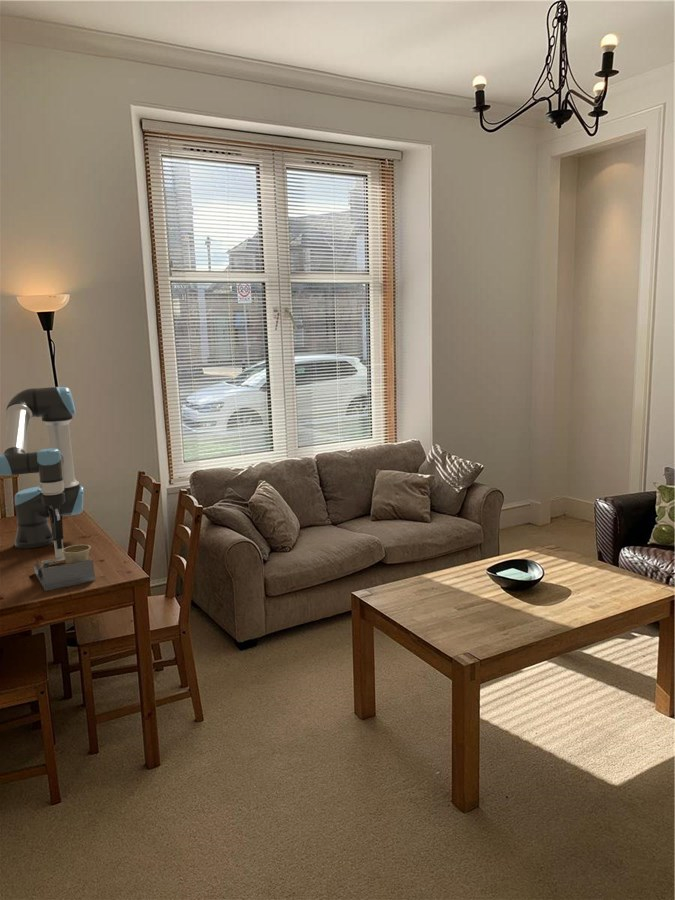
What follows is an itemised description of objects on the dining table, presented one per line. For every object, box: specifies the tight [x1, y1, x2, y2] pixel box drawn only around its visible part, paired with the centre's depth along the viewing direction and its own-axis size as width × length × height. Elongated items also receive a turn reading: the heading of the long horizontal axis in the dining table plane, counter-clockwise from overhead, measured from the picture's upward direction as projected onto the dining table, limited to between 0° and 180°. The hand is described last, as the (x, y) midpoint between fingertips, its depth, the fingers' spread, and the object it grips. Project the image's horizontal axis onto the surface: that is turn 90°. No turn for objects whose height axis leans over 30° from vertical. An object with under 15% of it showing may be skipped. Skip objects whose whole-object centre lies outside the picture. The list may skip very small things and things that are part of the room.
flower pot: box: [62, 544, 92, 564], centre depth 232 cm, size 9×9×9 cm
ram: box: [40, 556, 67, 572], centre depth 235 cm, size 5×13×4 cm, turn 123°
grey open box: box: [33, 558, 96, 592], centre depth 233 cm, size 22×16×8 cm
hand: (59, 556), depth 237 cm, fingers closed
